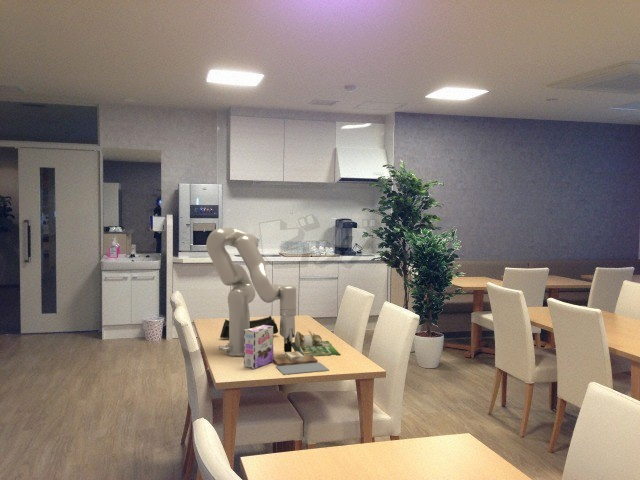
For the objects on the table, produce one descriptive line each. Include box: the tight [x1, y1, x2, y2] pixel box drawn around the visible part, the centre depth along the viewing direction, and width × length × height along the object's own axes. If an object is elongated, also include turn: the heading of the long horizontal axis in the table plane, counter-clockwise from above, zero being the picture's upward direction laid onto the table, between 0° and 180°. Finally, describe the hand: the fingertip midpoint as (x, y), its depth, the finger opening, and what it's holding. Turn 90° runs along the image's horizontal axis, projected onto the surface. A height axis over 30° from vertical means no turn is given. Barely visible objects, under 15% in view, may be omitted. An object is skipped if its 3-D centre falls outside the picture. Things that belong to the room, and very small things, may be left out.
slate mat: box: [275, 361, 330, 376], centre depth 240 cm, size 20×12×1 cm, turn 110°
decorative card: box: [292, 330, 341, 357], centre depth 277 cm, size 33×8×20 cm
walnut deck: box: [272, 355, 319, 366], centre depth 250 cm, size 18×10×2 cm, turn 110°
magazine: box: [219, 315, 279, 339], centre depth 297 cm, size 17×3×30 cm
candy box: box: [243, 325, 274, 370], centre depth 246 cm, size 14×6×16 cm, turn 148°
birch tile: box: [284, 351, 304, 362], centre depth 251 cm, size 6×9×2 cm, turn 20°
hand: (287, 351), depth 261 cm, fingers closed
